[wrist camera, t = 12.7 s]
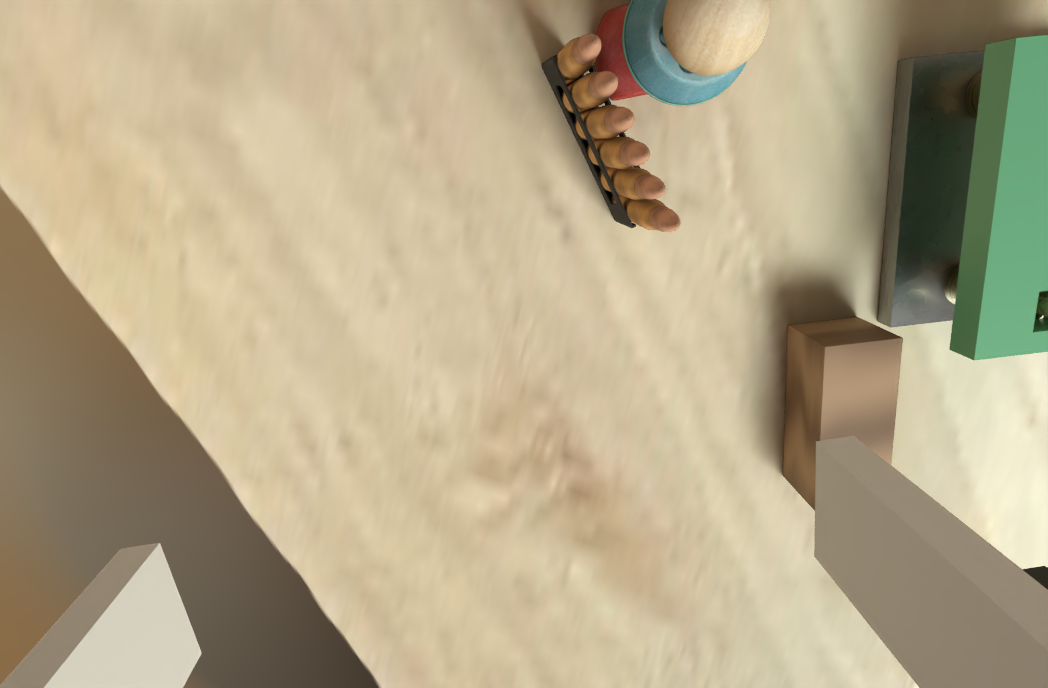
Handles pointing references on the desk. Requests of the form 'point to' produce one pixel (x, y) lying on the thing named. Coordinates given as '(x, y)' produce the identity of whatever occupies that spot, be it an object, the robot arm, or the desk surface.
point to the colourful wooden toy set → (680, 46)
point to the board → (1006, 208)
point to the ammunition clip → (607, 137)
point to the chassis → (930, 187)
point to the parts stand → (838, 392)
